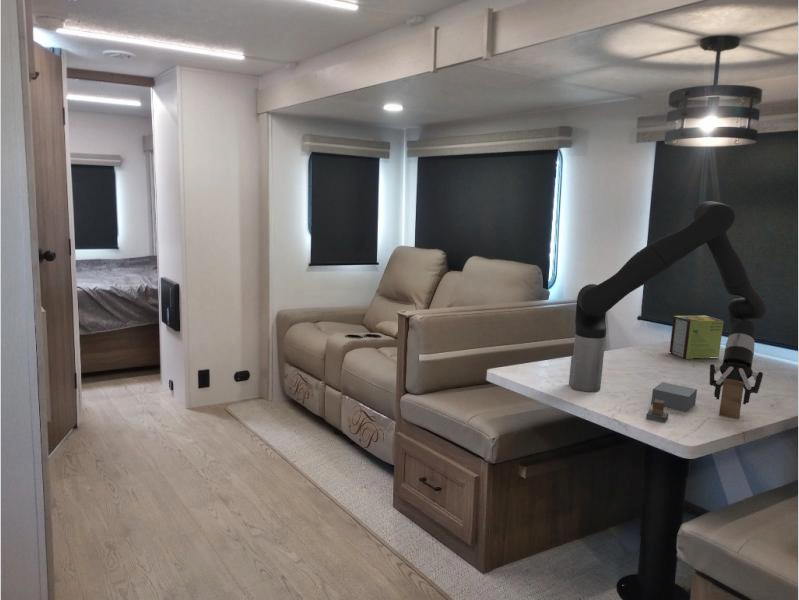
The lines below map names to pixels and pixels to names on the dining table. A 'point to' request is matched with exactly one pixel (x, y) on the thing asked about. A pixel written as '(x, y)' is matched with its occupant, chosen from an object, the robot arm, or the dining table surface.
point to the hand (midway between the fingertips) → (731, 400)
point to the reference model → (657, 412)
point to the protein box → (696, 336)
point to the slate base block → (675, 396)
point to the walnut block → (731, 398)
